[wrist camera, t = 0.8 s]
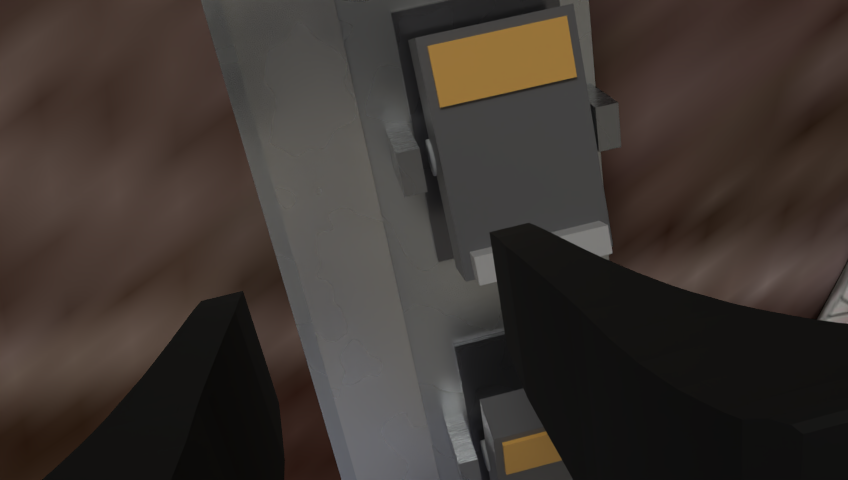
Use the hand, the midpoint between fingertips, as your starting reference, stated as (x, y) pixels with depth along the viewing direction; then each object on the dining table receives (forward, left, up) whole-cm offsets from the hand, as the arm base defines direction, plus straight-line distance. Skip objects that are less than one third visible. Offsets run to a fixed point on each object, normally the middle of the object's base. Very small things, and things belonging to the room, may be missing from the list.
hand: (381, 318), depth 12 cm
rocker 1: (0, -3, -6) cm, 7 cm away
